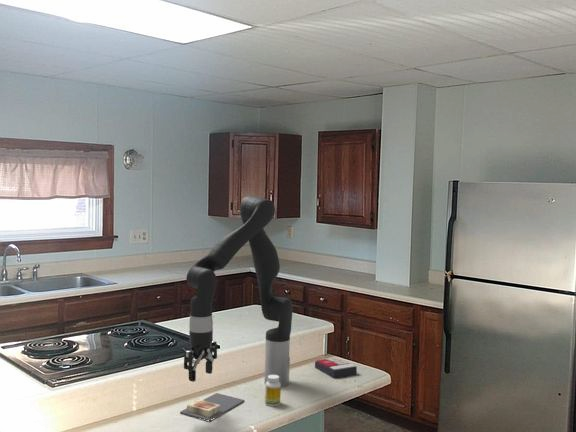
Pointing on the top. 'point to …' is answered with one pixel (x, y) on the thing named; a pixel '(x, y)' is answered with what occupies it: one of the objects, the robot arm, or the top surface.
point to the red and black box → (336, 367)
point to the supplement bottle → (272, 390)
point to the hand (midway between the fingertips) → (200, 376)
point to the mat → (220, 399)
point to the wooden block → (203, 408)
